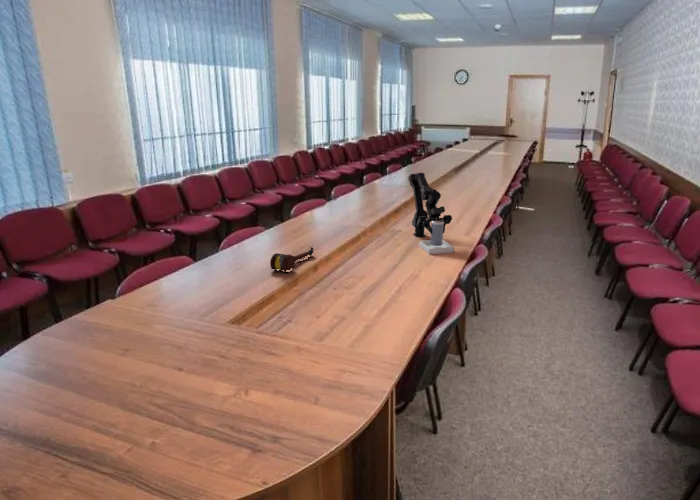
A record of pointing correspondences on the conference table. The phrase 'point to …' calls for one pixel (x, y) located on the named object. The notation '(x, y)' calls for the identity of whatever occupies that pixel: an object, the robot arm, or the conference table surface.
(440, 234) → the canister
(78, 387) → the conference table surface
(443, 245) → the tray
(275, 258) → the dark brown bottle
